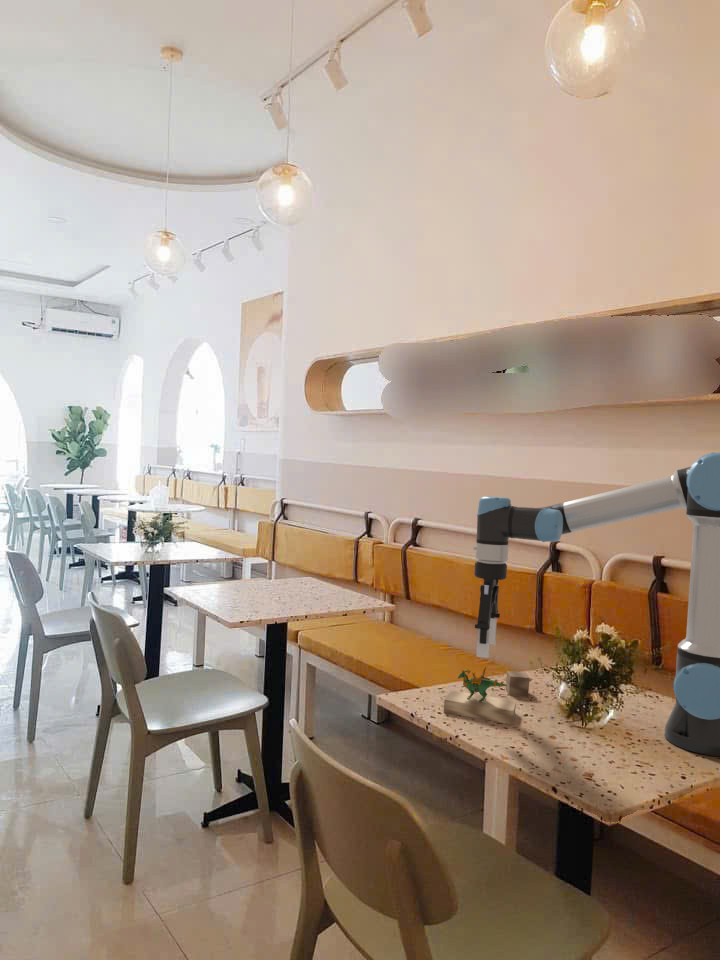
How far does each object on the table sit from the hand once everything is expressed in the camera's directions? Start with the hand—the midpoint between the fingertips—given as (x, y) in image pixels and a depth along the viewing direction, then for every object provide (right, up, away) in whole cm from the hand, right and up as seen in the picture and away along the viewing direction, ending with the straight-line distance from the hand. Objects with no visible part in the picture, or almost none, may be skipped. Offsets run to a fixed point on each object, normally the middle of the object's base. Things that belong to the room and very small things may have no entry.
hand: (486, 650), depth 168 cm
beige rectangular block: (-2, -15, 0) cm, 15 cm away
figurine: (-1, -12, 0) cm, 12 cm away
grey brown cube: (+11, -16, +18) cm, 27 cm away
